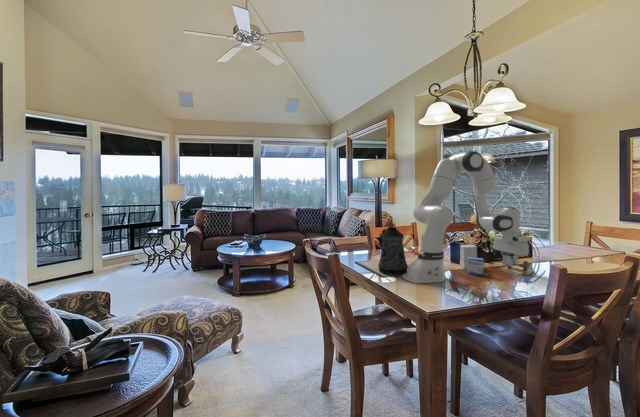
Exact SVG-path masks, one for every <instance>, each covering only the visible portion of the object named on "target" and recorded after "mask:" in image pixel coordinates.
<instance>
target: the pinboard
mask: <svg viewBox="0 0 640 417" xmlns="http://www.w3.org/2000/svg"><path fill="white" fill-rule="evenodd" d="M522 263H523V264H522V265H523V266H522V267H521V266H519V265H516V266H507V265H506V266H504V267H499V268H498V269H499V271H501V272H505V273H508V274H512V275H515V276H526V275H532V274H533V275H534V274H536V271H535V270H533V269H528V265H529V264H528V263H529V262H528V261H526V260H524V261H523V262H522Z"/></svg>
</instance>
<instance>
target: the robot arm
mask: <svg viewBox="0 0 640 417" xmlns="http://www.w3.org/2000/svg"><path fill="white" fill-rule="evenodd" d="M458 173H460V174H461V173H462V174H465V173H468V174H469V176H470V180H471V183H472V188H473V191H472V197H473V203H474V207H475V212H476V220H475V222H476V225H477V227H478V228H479V229H480V230H485V231H493V232H498V233H497V234H496V235H494V240H493V249H494V250H495V251H499V252H500V253H501V255H502V252H507V253H512V254H514V256H515V258H514V259H513V262H517V263H518V259H519V257H526V256H528V255H529V253H530V245H529V237H527V235H526V236H525V235H524V234H522V233H521V230H520V226H521V213H520V209H517V208H515V207H508V206H507V207H505V206H504V207H503V208H502V210H500V211H498V212H496V213H493V212H490V211H489V209H488V204H487V199H486V198H487V196H488V195H489V194H491V193H492V192H494V190H495V188H496V186H497V183H496V182H497V181H496V177H495V175H494V172H493V169H492V167H491V164H490V163H489V162H488V160H487V159H486V158H484V157H483V156H482V155H481V153H480V152H478V151H474V150H469V151H459V152H455V153H452V154H449V155H448V156H447V157H446V158H442V159H441V160H439V161H438V164H437V165H436V167H435V170H434V172H433V174H432V178H431V181H430V184H429V187H428V189H427V191H426V193H425V195H424V197H423V198H422V200H421V201H420V202H419V203H418V204H417V205H416V206H415V207H414V209H413V211H412V215H413V217H414V219H415V220H416V221H418V222H420V223H421V224H425V225H426V226H425V227H426V228H425V230H424V232H423V233H422V234H421V235H420V236H421V237H420V250H419V251H417V250H415V251H414V253H413V254H414V255H415V256H417V257H416V259H414V261H412V262H411V263H409V264H408V268H407V272H406V273H405V274H401V275H402V278H403V280H406V281H407V282H408V281H409V282H410V283H414V284H427V283H428V284H429V283H444V282H445V280H446V279H447V277H446V274H445V268H444V257H445V253H444V252H445V251H444V236H445V233H446V230H447V227H448V226H449V225H450V224H452V222H453V220H454V212H453V210H452V209H451V208H450V207H447V206H445V205H443V203H444V202H445V201H446V200H447V199H448V198H449V197H450V196H451V194H452V190H453V187H454V184H455V180H456V177H457V174H458ZM499 232H501V234H500V233H499ZM502 257H503V255H502Z"/></svg>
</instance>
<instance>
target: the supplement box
mask: <svg viewBox="0 0 640 417" xmlns="http://www.w3.org/2000/svg"><path fill="white" fill-rule="evenodd" d="M459 248H460V249H459V266H461V267H462V269H463V268H464V269H467V260H468V257H473V258H478V247H477V246H476V245H474V244H460V245H459Z"/></svg>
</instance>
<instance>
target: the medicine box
mask: <svg viewBox="0 0 640 417" xmlns="http://www.w3.org/2000/svg"><path fill="white" fill-rule="evenodd" d="M484 259H485V258H482V257H477V258H473V257H468V260H467V268H466V274H468V275H474V276H475V275H476V276H483V275H484V261H485V260H484Z"/></svg>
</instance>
